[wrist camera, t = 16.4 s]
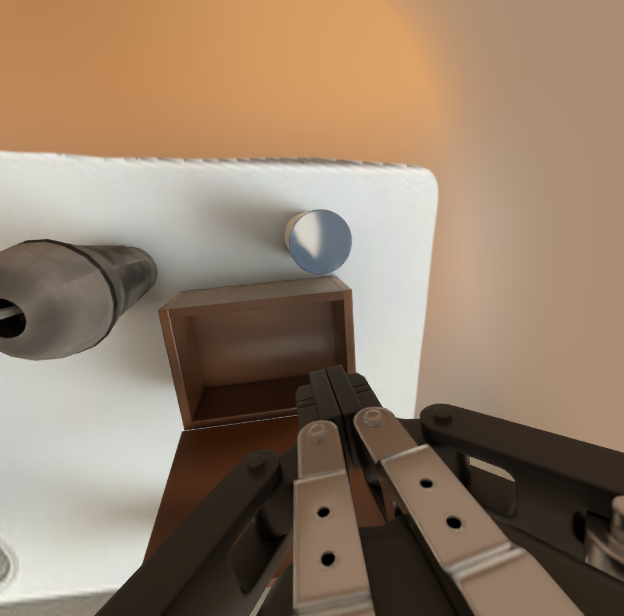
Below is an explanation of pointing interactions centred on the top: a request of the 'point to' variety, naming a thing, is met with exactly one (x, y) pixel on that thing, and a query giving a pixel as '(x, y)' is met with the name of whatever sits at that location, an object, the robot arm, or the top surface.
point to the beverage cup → (66, 295)
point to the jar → (318, 241)
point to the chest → (254, 346)
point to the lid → (221, 460)
